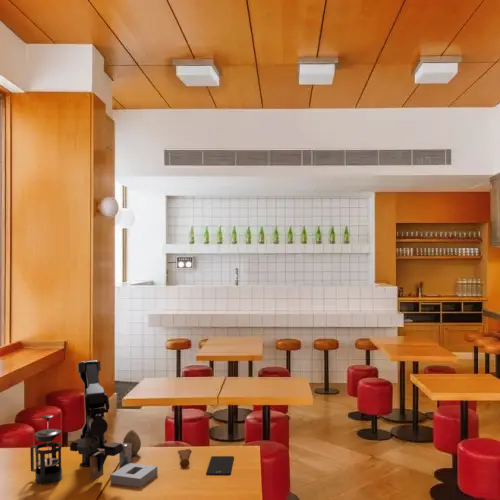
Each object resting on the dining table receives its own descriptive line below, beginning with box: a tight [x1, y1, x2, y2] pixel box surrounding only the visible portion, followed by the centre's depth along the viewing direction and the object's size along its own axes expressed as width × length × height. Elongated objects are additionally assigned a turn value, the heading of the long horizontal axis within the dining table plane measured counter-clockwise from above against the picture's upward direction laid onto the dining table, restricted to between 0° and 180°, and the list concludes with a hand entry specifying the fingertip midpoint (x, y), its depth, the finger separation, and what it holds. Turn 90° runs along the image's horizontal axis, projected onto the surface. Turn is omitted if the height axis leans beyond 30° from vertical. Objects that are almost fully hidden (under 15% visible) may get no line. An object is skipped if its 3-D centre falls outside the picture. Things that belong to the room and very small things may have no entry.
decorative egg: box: [122, 429, 142, 456], centre depth 233 cm, size 7×7×10 cm
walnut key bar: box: [89, 452, 104, 481], centre depth 205 cm, size 2×5×8 cm, turn 160°
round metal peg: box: [118, 442, 133, 469], centre depth 221 cm, size 4×4×8 cm
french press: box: [29, 414, 63, 485], centre depth 209 cm, size 12×9×23 cm
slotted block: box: [110, 463, 158, 488], centre depth 208 cm, size 12×12×3 cm
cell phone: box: [206, 455, 235, 476], centre depth 219 cm, size 9×18×1 cm, turn 177°
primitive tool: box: [177, 448, 192, 468], centre depth 228 cm, size 19×6×4 cm, turn 9°
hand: (96, 471), depth 205 cm, fingers closed on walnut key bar, 2 cm apart
